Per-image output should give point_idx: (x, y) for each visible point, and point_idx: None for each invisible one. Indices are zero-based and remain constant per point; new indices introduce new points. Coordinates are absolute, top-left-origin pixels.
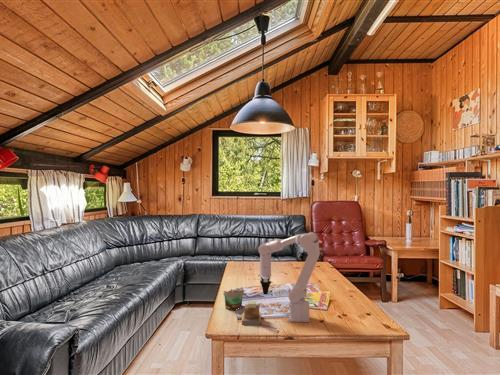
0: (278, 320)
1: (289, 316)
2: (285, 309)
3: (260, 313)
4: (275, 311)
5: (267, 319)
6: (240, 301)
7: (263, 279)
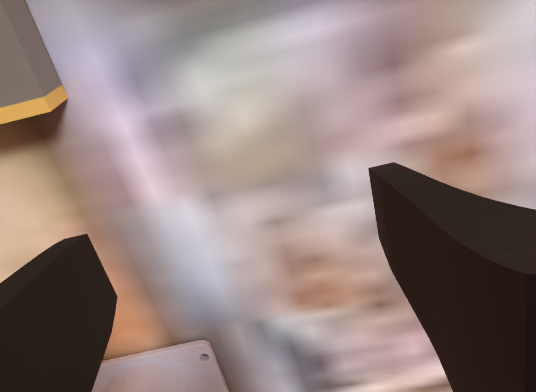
0: None
1: (158, 354)
2: (341, 288)
3: (20, 116)
4: (264, 215)
5: (30, 184)
6: None
7: (474, 319)
